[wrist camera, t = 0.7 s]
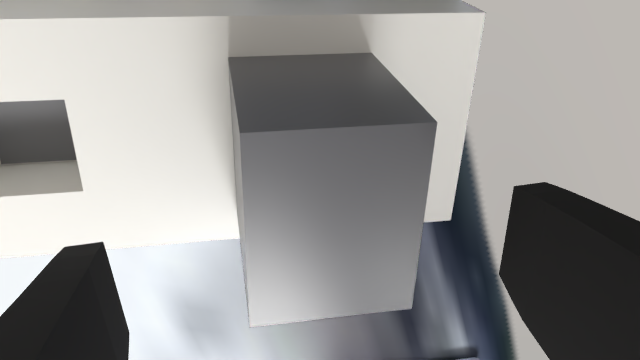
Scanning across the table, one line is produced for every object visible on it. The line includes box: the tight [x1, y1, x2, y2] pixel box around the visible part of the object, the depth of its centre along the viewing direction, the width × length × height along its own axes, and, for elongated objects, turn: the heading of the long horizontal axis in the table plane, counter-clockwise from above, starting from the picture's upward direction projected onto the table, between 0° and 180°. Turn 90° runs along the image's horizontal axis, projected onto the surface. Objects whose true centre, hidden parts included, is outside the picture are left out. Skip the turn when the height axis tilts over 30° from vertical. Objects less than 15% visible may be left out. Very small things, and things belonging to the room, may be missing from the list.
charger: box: [228, 53, 437, 328], centre depth 15 cm, size 5×4×7 cm
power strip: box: [0, 0, 486, 259], centre depth 17 cm, size 7×18×4 cm, turn 89°
